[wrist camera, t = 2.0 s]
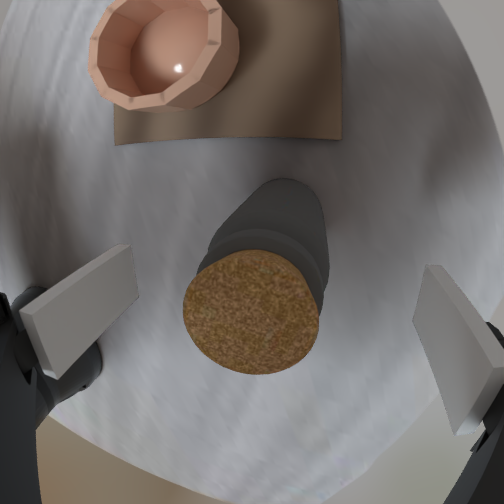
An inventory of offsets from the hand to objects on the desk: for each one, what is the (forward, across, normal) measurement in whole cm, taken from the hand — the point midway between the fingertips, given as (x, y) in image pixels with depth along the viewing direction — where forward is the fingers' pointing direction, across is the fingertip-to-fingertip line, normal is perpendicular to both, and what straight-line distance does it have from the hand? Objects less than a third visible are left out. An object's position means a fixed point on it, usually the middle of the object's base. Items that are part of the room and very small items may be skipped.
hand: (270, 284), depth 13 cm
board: (+12, -6, +12) cm, 18 cm away
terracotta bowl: (+11, -9, +13) cm, 19 cm away
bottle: (+12, -1, 0) cm, 12 cm away
